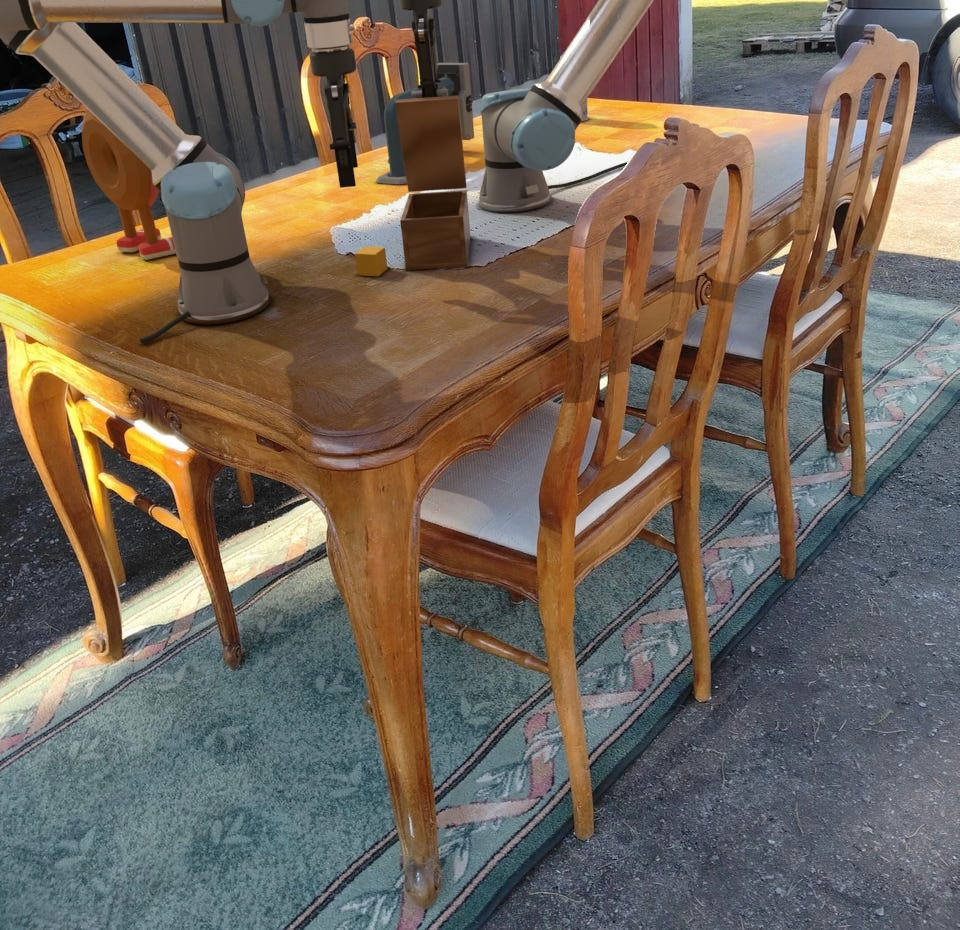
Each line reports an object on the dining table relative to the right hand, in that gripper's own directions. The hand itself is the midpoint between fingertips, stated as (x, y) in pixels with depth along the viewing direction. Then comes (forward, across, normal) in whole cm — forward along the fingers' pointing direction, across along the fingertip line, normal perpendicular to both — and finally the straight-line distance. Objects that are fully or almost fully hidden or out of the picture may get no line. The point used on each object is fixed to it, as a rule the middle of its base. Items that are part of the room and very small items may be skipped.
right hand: (433, 122), depth 182 cm
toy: (+22, +2, +60) cm, 64 cm away
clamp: (+22, +58, +8) cm, 63 cm away
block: (+22, -20, +12) cm, 32 cm away
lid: (+3, -6, 0) cm, 7 cm away
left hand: (+5, -16, +14) cm, 22 cm away
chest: (+22, -11, 0) cm, 24 cm away
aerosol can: (+22, +101, -31) cm, 108 cm away
